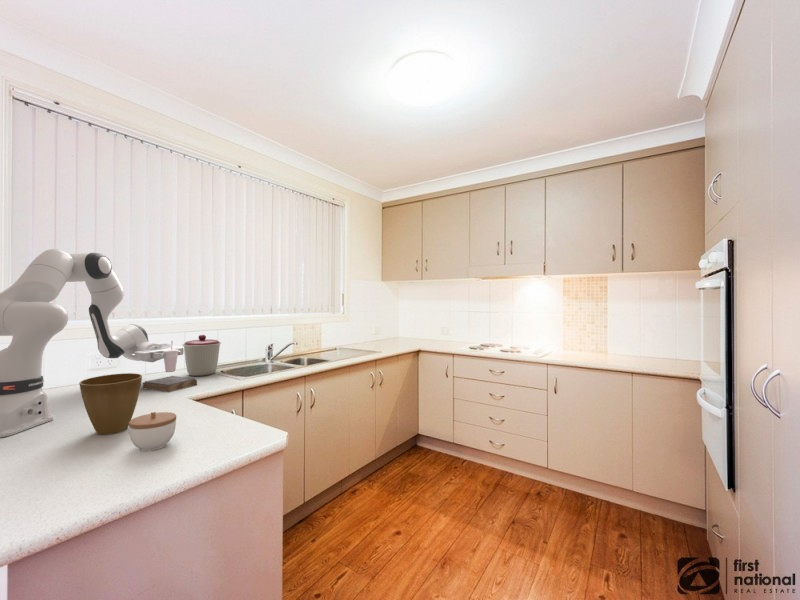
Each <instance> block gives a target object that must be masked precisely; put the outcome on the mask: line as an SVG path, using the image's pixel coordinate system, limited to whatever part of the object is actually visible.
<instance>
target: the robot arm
mask: <svg viewBox="0 0 800 600" xmlns="http://www.w3.org/2000/svg"><path fill="white" fill-rule="evenodd" d="M75 282H77V283H78V282H79V283H82V282H85V286H86V288H87V289H88V291H89V293H90V294H89V295H90V299H91V302H90V306H89V307H88V314H89V318H90V322H91V325H92V328H93V331H94V335H95V337H96V342H97V350H98V352H99V353H100V354H101V356H102V357H104V358H106V359H118V358H120V357H121V356H122V357H123V358H125V359H128V360H130V361H135V362H145V363H155V362H157V361H161V360H162V359H163V360H164V357H165V353H162V351H163V350H170V349H171V343H157V342H155V343H154V342H149V336H148V333H147V331H146V330H145V328H143V327H142V326H141V325H137V324H134V323H130V324H128V325H126V326H124V327H122V328H120V329H118V330H117V331H116V332H114V333H112V332H111V329H110V326H109V322H108V318H109V316H110V314H111V313H112V312H113V310H115V308H116V307H117V306H118V305H119V304H120V303H121V302H122V300H123V298H124V296H125V291H124V289H123V285H122V284H121V282H120V280H119V278H118V276H117V275H116V273H115V271H114V270H113V265H112V262H111V260H110V259H109V258H108V256H107V255H105V254H103V253H100V252H89V253H86V252H84V253H68V252H66V251H64V250H61V249H57V248H56V249H55V248H54V249H53V248H52V249H47V250H44V251H43V252H41V253H40V254H39V255H38V256H36V257H35V258H34V259H33V260H32V261H31V263H30V264H29V265H28V266H26V269H25V270H24V271H23V272H22V273H21V275H20V276H19V278H18V279H17V280H16V281H15V282H14V283H13V284H12V285H10V286H9V287H8V288H6V289H5V290H3V291H2V292H0V337H12V339H11V341H10V344H9V345H8V346H7V347H5V348H3V349H2V350H0V438H4V437H10V436H12V435H15V434H18V433H21V432H24V431H27V430H29V429H31V428H33V427H34V428H35V427H37V426H40V425H43V424H45V423H47V422H50V421H54V416H53V415H50V410H49V401H48V396H47V395H48V394H46V393H45V392H44V390H43V387H44V382H45V380H44V376H43V375H42V368H43V367H42V365H43V363H42V362H43V355H44V351H45V348H46V346H47V344H48V343H49V341H50V340H51V339H52V338H53V337H54V336H56V335H57V334H58V333H60V332H62V330H64V328H66V327H67V324H68V321H69V316H68V312H67V310H66V309H65V308H64V307H63V306H62V305H61V304H57V303H52V302H53V301H54V300H55V299H56V298H58V296H59V295H60V292H61V291H62V290H63V288H64V286H65V285H66V283H75ZM173 349H177V350H179V352H178V356H183V355H184V353H185V352H184V346H179V345H173Z"/></svg>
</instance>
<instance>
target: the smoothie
mask: <svg viewBox="0 0 800 600" xmlns="http://www.w3.org/2000/svg"><path fill="white" fill-rule="evenodd" d="M170 345H171V349H170V350H163V351H162V353H165V357H164V358H163V362H164V369H165V371H164V372H165V373H175V372H176V369H177V362H178V361H177V360H178V356H179V355H178V352H179V350H177V349H173V346H174V344H173V340H171V342H170Z"/></svg>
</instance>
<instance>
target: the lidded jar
mask: <svg viewBox="0 0 800 600" xmlns="http://www.w3.org/2000/svg"><path fill="white" fill-rule="evenodd" d="M176 426H177V414H176V413H174V412H168V411H167V412H166V411H163V412H162V411H161V412H156V411H151V412H150V413H146V414H142V415H139V416H137V417H133V418H132V419H131V420H130V421H129V426H128V428H129V429H128V430H129V433H128V434H129V438H130V441H131V443H132V444H133V445H134V447H136V448H138V450H139V449H140V450H139V451H141V450H143V451H142V452H150V451H149V450H152V451H156V449H157V450H161V449H163V448H164V447H167V444H168V443H169V442H170V441H171V439H172V438H173V436H174V434H175V430H176ZM162 447H163V448H162Z"/></svg>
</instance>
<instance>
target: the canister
mask: <svg viewBox="0 0 800 600" xmlns="http://www.w3.org/2000/svg"><path fill="white" fill-rule="evenodd" d="M206 338H207V336H206V335H205V334H199V335H198V339H192V340H188V341H185V342H184V343H183V344H182V347H183V349H184V352H183V353H184V358H185V367H186V371H187V374H188V375H189V376H193V377H203V376H209V375H210V376H211V375H212V374H213V375H214V373H215V372H216V371H217V368H218V364H219V362H218V361H219V356H220V355H219V354H220V346H221V344H222V342H221V341H219V340H217V339H208V338H207V339H206Z"/></svg>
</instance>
